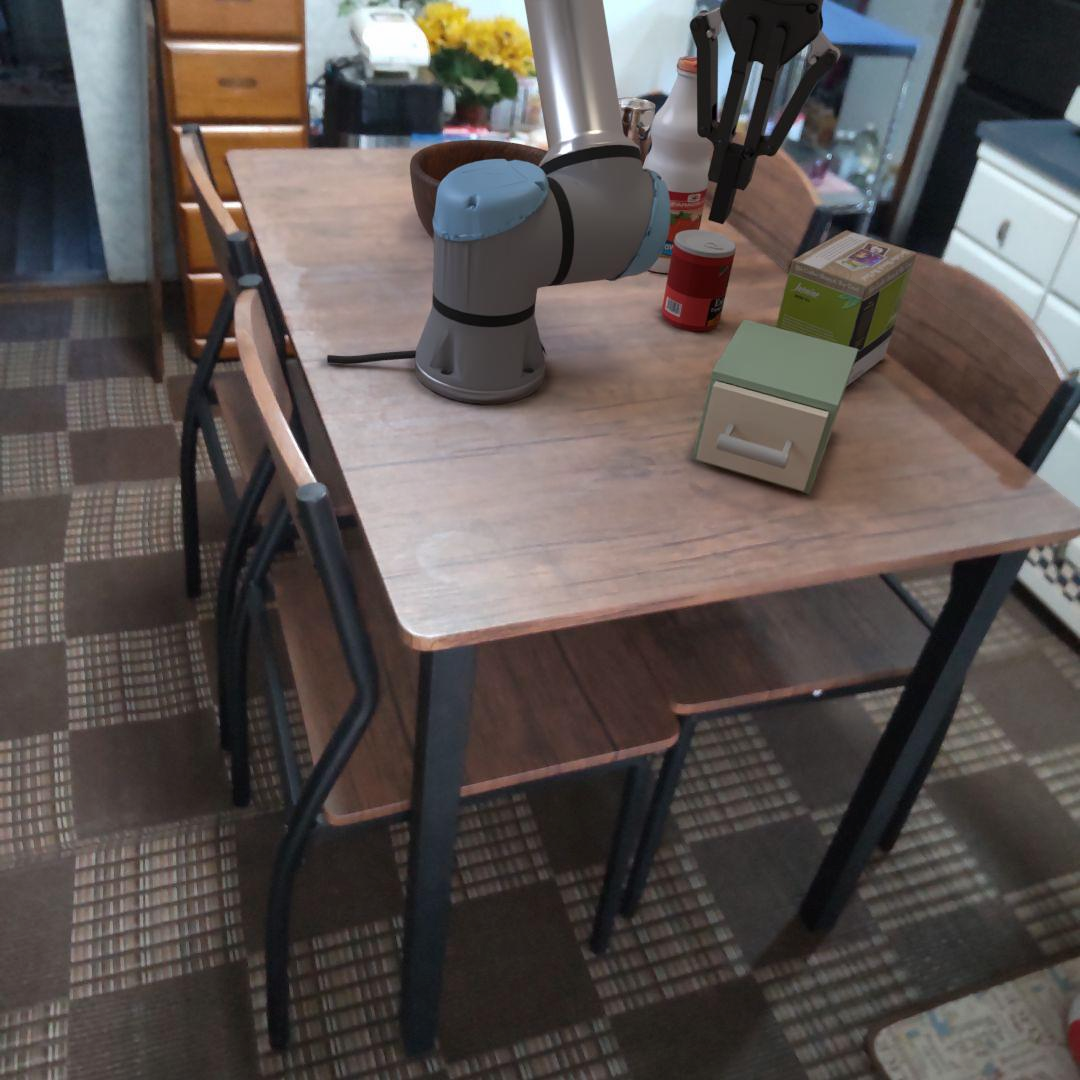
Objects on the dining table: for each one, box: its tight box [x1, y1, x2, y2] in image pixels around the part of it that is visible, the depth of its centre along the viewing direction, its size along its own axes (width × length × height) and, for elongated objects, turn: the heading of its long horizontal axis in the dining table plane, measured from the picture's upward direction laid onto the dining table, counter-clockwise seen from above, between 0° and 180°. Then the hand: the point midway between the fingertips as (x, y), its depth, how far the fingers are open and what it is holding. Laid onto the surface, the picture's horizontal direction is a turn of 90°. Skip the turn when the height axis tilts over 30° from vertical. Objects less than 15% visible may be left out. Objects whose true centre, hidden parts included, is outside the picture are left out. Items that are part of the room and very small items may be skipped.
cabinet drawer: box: [696, 381, 829, 491], centre depth 104 cm, size 17×12×9 cm
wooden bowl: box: [409, 139, 548, 240], centre depth 148 cm, size 25×25×10 cm
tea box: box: [775, 229, 918, 386], centre depth 123 cm, size 15×10×15 cm
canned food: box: [661, 229, 737, 332], centre depth 131 cm, size 8×8×11 cm
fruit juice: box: [643, 55, 714, 274], centre depth 141 cm, size 9×9×28 cm
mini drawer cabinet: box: [691, 318, 858, 495], centre depth 107 cm, size 14×13×11 cm
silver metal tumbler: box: [618, 96, 656, 168], centre depth 166 cm, size 7×7×15 cm
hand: (719, 216), depth 94 cm, fingers closed
